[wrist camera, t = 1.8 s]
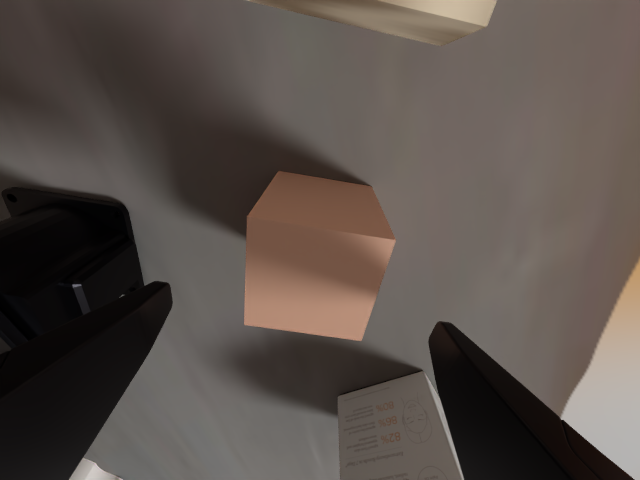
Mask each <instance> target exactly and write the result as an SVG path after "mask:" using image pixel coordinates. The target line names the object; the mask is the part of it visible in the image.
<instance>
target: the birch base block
mask: <svg viewBox="0 0 640 480" xmlns="http://www.w3.org/2000/svg"><path fill="white" fill-rule="evenodd" d="M246 1H250V2H254V3H258V4H263V5H267V6H271V7H276V8H280V9H284V10H288V11H293V12H297V13H301V14H306V15H310V16H314V17H318V18H323V19H327V20H331V21H336V22H340V23H344V24H348V25H353V26H357V27H361V28H366V29H370V30H374V31H378V32H383V33H387V34H391V35H396V36H400V37H404V38H408V39H413V40H417V41H421V42H426V43H430V44H434V45H438V46H443V45H446V44H448V43H450V42H453V41H455V40H457V39H459V38H462V37H464V36H466V35H469V34H471V33H473V32H476V31H478V30H480V29H483V28H485V27H487V25H488V22H489V20H490V17H491V15H492V12H493V9H494V7H495V4H496V2H497V0H246Z"/></svg>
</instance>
